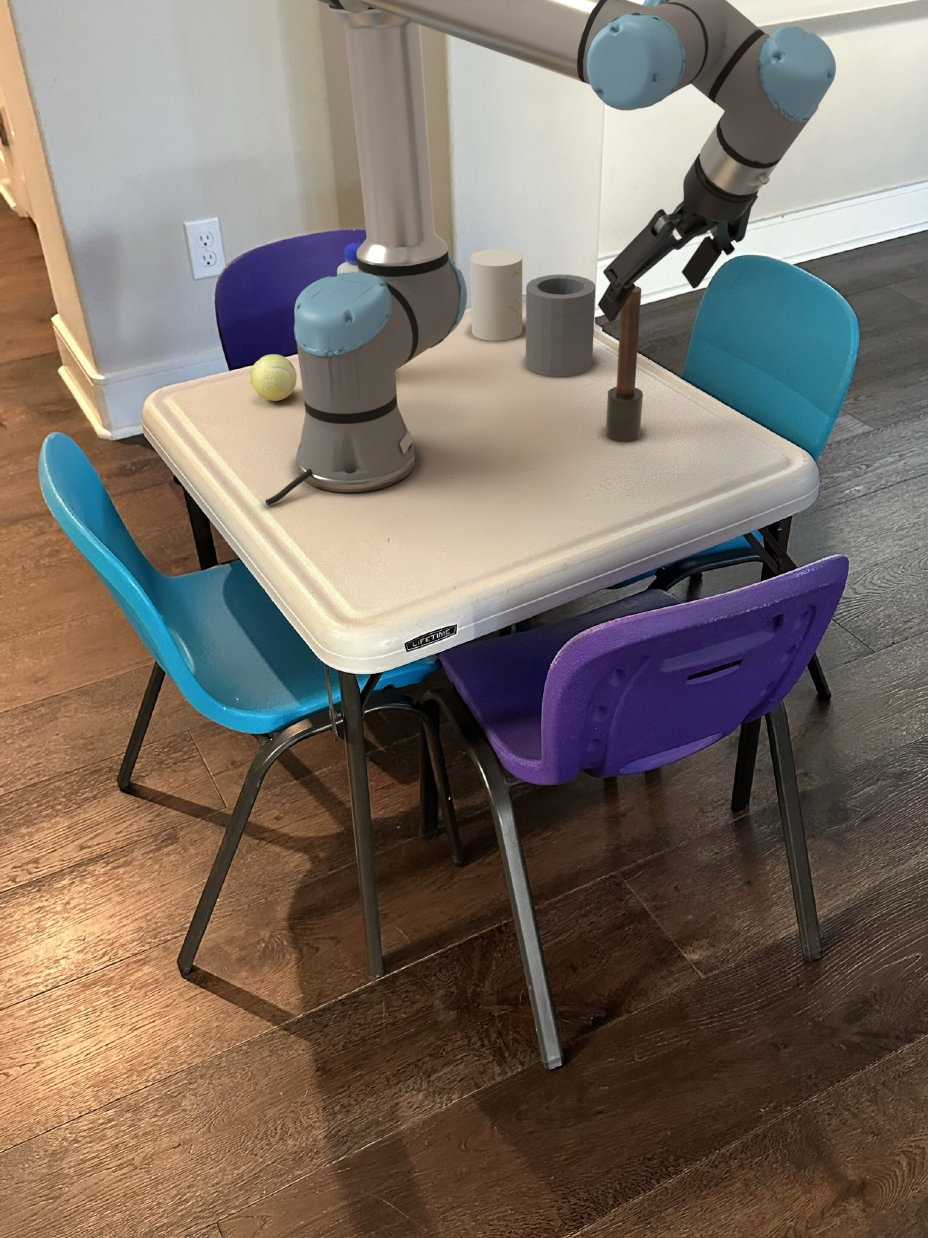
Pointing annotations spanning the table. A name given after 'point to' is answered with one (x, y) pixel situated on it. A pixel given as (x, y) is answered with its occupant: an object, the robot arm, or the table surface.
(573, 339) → the grey thick-walled tube
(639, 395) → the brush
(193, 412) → the table surface
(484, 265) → the cream marbled cylinder
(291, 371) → the tennis ball
